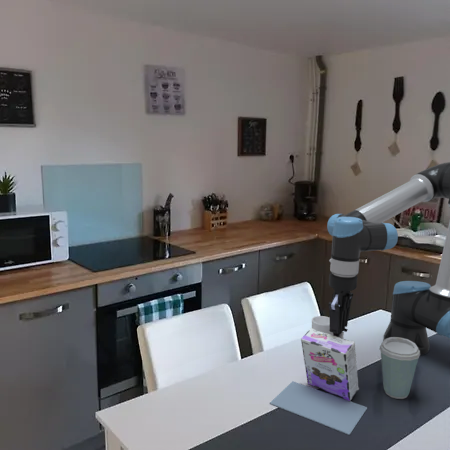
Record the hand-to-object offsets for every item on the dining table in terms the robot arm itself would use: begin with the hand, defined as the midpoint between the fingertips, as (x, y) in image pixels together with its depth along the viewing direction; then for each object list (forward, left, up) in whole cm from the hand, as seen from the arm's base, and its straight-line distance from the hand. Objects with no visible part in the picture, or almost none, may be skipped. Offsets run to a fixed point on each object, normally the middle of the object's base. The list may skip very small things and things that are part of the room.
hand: (336, 353), depth 130 cm
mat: (+11, 0, -11) cm, 16 cm away
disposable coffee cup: (-8, +15, -11) cm, 20 cm away
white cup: (-22, -13, -11) cm, 28 cm away
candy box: (+1, 0, -10) cm, 10 cm away
